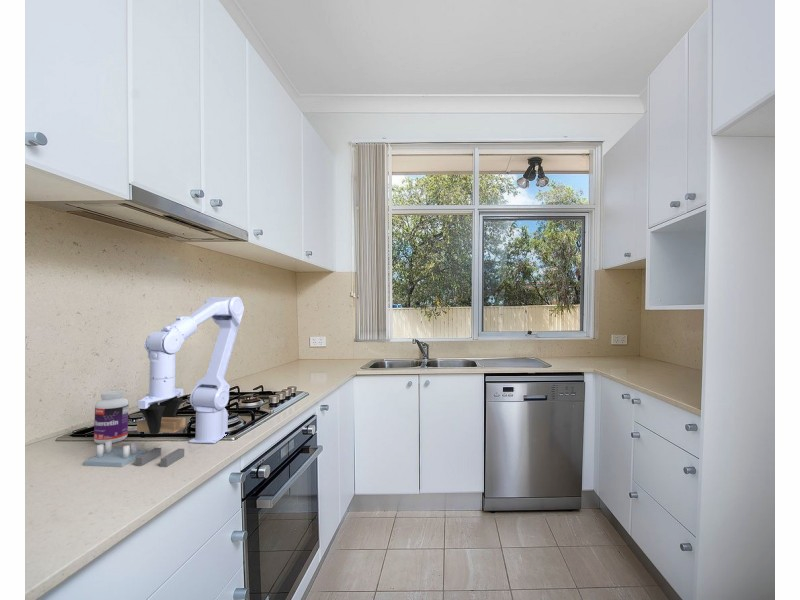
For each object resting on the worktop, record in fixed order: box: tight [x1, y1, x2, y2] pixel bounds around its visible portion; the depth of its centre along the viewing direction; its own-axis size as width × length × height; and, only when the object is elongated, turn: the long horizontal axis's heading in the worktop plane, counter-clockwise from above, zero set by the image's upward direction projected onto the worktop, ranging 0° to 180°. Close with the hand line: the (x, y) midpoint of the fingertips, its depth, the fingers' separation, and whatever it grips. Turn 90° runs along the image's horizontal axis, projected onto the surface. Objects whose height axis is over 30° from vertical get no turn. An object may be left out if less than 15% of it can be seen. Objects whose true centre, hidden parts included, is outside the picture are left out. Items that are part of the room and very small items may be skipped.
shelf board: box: [136, 416, 186, 434], centre depth 100 cm, size 4×10×2 cm, turn 86°
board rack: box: [135, 447, 185, 468], centre depth 100 cm, size 7×8×2 cm
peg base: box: [83, 441, 149, 468], centre depth 100 cm, size 9×10×4 cm
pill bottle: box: [93, 389, 129, 445], centre depth 114 cm, size 8×8×14 cm
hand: (161, 429), depth 100 cm, fingers closed on shelf board, 4 cm apart
